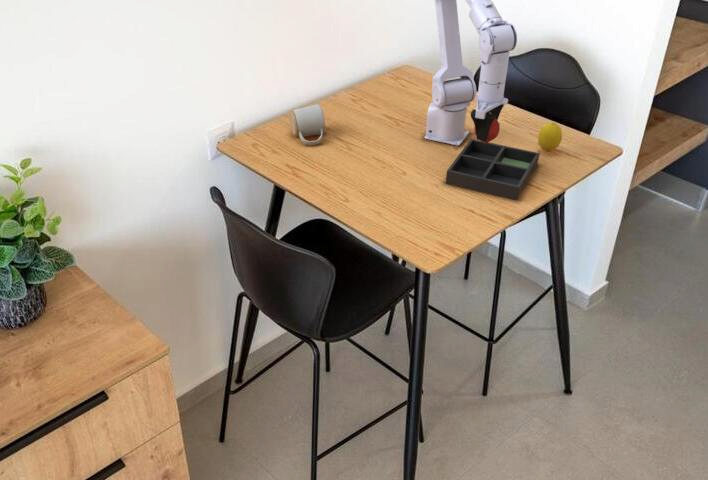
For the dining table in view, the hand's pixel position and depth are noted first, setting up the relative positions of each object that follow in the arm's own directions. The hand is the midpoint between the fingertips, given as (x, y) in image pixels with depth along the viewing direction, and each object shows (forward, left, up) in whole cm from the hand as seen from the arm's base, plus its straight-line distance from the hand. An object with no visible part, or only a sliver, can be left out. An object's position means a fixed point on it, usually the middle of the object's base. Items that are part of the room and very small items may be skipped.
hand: (485, 133), depth 180 cm
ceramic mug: (-45, -3, -10) cm, 46 cm away
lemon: (+12, +15, -10) cm, 22 cm away
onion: (0, 0, -3) cm, 3 cm away
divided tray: (+3, -1, -9) cm, 10 cm away
